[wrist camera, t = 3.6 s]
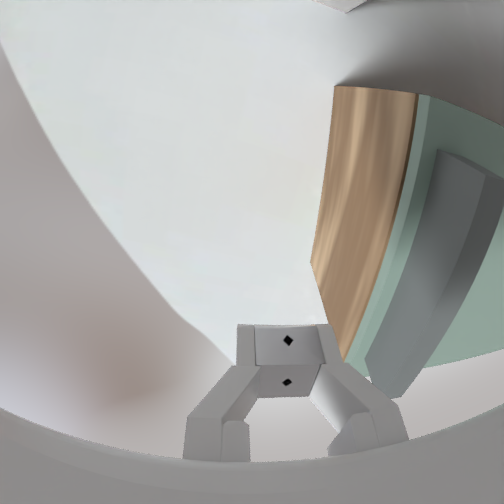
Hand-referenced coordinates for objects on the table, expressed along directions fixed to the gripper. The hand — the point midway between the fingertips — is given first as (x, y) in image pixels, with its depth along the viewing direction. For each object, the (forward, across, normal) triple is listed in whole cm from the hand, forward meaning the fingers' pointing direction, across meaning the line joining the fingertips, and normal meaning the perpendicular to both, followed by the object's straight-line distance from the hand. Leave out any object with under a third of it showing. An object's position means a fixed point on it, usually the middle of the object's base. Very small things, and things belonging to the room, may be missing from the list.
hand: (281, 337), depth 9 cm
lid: (+4, -16, 0) cm, 17 cm away
